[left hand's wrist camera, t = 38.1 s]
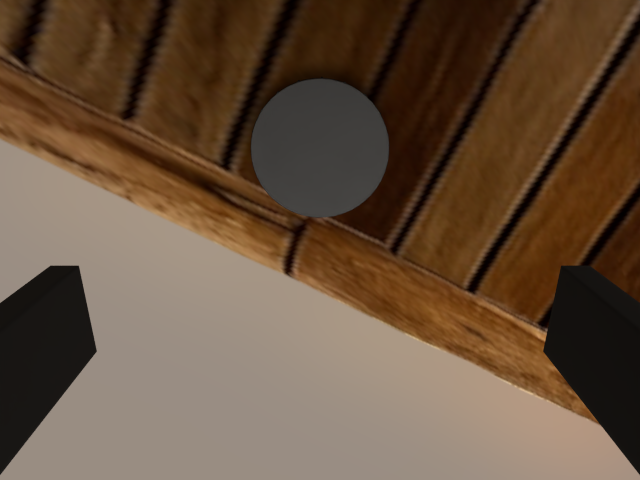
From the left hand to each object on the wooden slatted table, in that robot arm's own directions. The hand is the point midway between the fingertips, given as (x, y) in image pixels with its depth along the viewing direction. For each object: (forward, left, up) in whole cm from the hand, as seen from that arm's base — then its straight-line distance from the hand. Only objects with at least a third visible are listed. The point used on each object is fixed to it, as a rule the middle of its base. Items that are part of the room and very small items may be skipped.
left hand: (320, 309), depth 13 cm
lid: (0, 0, -26) cm, 26 cm away
